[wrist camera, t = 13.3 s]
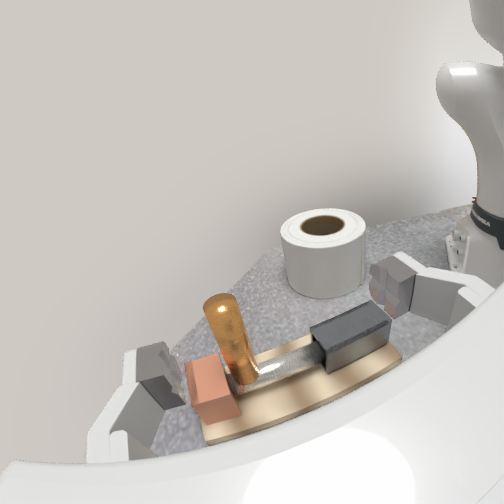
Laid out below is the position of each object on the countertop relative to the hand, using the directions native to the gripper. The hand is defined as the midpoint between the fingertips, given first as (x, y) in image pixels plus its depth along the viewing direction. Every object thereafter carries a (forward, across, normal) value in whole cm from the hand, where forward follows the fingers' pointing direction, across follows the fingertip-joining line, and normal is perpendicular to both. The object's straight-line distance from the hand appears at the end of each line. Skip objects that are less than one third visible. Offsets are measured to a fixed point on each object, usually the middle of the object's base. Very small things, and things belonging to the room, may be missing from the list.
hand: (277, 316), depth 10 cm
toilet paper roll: (+33, -19, +26) cm, 46 cm away
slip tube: (+14, -1, +23) cm, 27 cm away
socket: (+13, +7, +24) cm, 28 cm away
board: (+13, -4, +25) cm, 29 cm away
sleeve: (+14, -12, +24) cm, 30 cm away
